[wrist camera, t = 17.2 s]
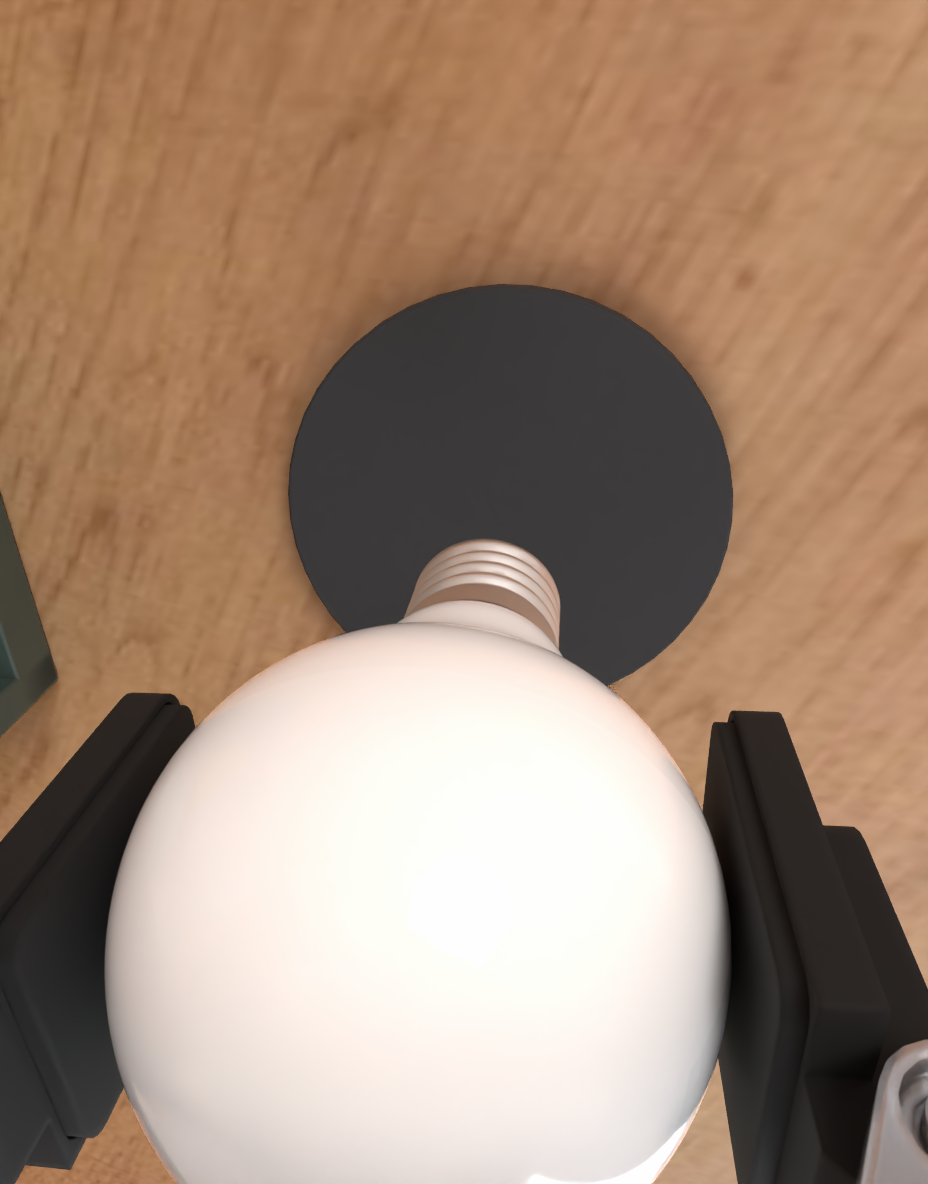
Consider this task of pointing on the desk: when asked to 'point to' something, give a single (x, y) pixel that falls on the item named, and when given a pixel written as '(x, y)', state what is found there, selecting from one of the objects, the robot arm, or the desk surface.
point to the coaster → (516, 467)
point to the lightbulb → (421, 913)
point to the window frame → (19, 636)
